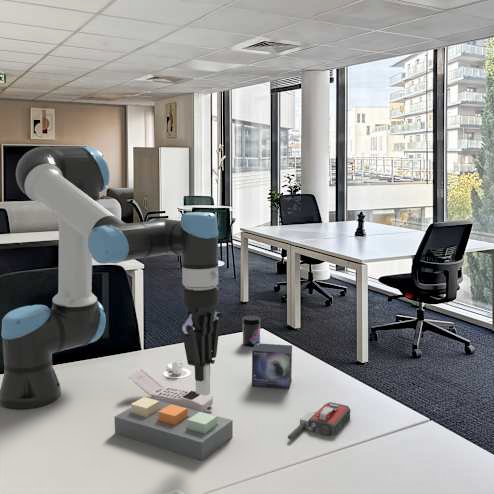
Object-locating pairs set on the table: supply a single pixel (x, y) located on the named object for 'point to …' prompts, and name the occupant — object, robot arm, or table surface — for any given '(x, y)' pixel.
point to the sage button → (202, 422)
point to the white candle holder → (176, 369)
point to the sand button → (145, 407)
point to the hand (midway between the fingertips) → (203, 393)
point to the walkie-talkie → (324, 420)
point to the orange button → (172, 414)
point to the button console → (174, 433)
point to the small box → (272, 365)
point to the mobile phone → (172, 393)
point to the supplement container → (251, 330)
